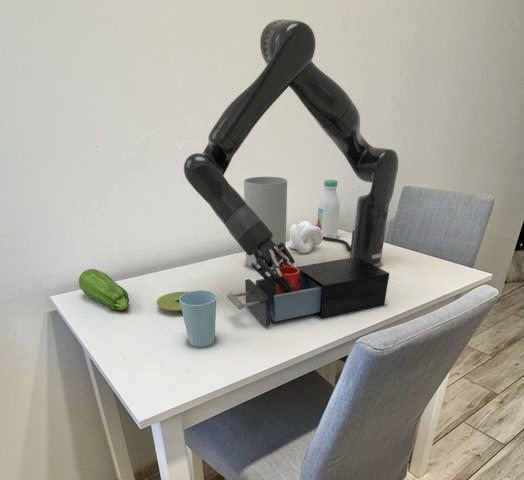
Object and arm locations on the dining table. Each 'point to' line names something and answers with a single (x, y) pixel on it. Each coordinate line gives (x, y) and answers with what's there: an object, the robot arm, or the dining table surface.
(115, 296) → the vegetable
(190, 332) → the cup
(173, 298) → the mat
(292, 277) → the red tumbler
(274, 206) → the cylinder vase
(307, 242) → the white knot sculpture
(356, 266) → the black drawer casing
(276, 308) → the dish drawer
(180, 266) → the dining table surface
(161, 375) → the dining table surface
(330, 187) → the milk bottle
